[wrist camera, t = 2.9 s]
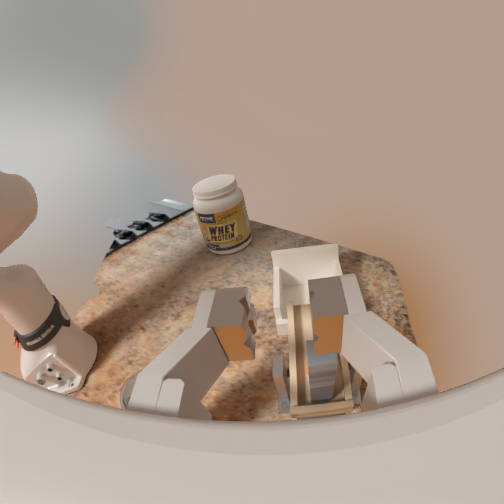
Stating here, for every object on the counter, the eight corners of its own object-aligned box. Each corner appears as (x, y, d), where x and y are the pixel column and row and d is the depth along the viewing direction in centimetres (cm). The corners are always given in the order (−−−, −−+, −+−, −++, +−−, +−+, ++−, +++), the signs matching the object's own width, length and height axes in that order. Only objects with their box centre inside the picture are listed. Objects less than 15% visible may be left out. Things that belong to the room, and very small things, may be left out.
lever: (352, 415, 29) (375, 375, 18) (290, 422, 31) (272, 387, 20) (338, 314, 41) (342, 236, 30) (287, 321, 42) (271, 245, 31)
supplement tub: (204, 260, 68) (182, 198, 59) (210, 234, 78) (193, 178, 69) (253, 252, 67) (237, 187, 57) (253, 226, 77) (240, 168, 67)
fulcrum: (360, 404, 32) (370, 376, 27) (278, 413, 34) (269, 387, 29) (355, 369, 37) (361, 335, 32) (279, 378, 39) (270, 346, 34)
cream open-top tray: (348, 327, 44) (351, 289, 39) (278, 335, 46) (270, 299, 41) (337, 280, 54) (337, 242, 48) (278, 287, 56) (271, 251, 50)
